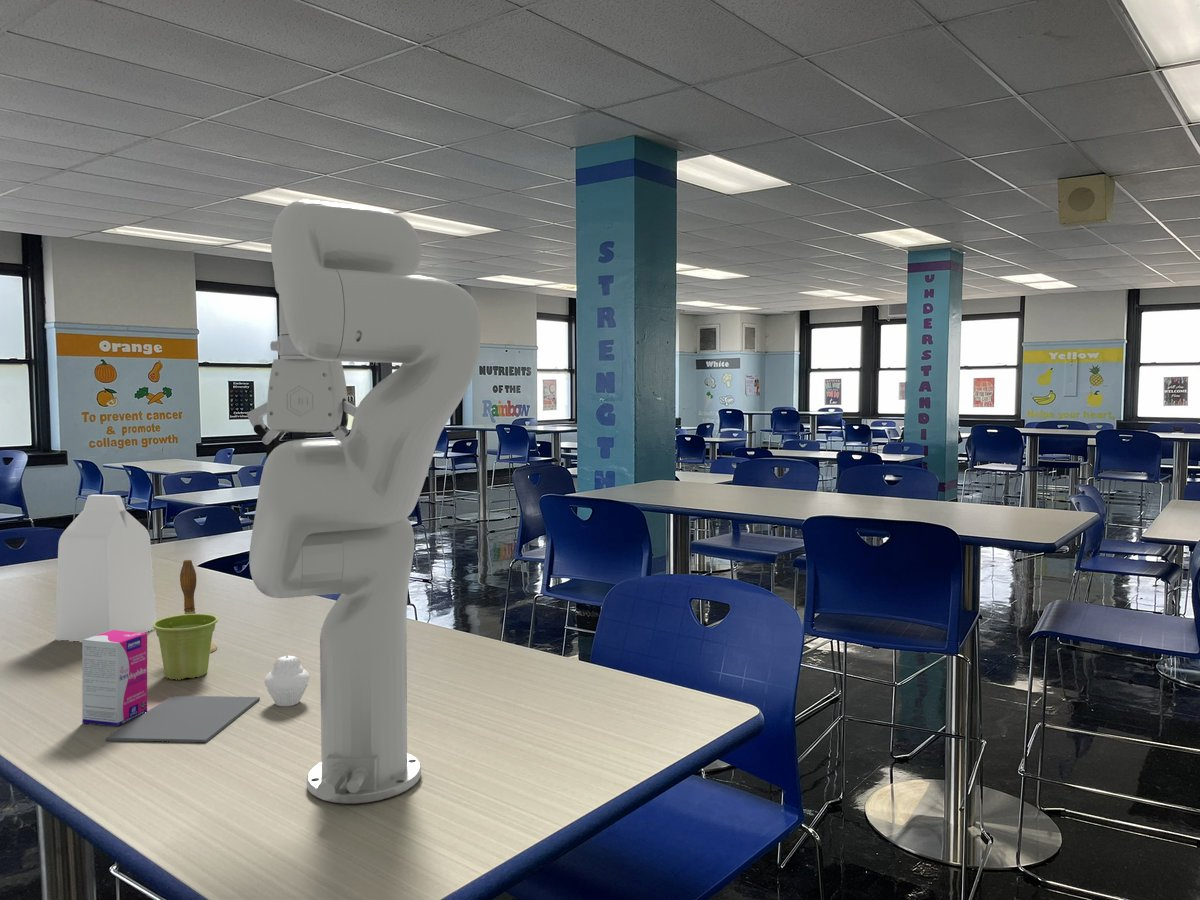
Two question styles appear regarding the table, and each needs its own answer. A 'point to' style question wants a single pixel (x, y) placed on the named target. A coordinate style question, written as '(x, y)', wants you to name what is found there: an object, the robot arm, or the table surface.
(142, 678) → the supplement box
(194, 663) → the plant pot
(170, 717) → the mat
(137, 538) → the milk
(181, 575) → the hand bell
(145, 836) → the table surface
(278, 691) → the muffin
